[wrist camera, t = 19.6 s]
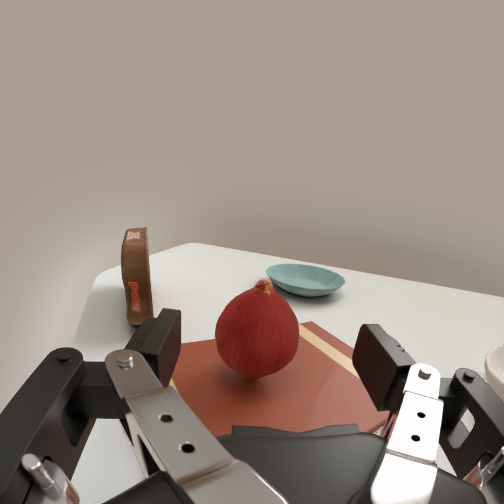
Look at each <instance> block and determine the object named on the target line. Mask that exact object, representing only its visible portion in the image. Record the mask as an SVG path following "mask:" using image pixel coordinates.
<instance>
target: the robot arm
mask: <svg viewBox="0 0 504 504" xmlns="http://www.w3.org/2000/svg"><path fill="white" fill-rule="evenodd" d="M180 348H181V311H180V310H174V309H167V308H163V309H162V311H161V312H160V314H159V316H158V317H157V318H152V317H150V318H148V319H147V320H145V321H143V322H142V323H141V324H140V326H139V327H138V330H136V332H135V333H134V335H133V336H132V338H131V339H130V341H129V342H128V344H127V345H126V347H125V348H124V349H121V350H116V351H113V352H111V353H110V354H108V355H107V356H106V358H105V361H104V362H87V361H84V360H83V356H82V354H81V352H80V351H78V350H76V349H74V348H59V349H56V350H53V351H52V352H51V353H49V354H48V355H47V357H46V358H45V359H44V360H43V361H42V362H41V364H40V365H39V366H38V367H37V368H36V370H35V371H34V372H33V373H32V374H31V376H30V377H29V378H28V379H27V380H26V382H25V383H24V384H23V385H22V387H21V388H20V389H19V390H18V392H17V393H16V394H15V395H14V397H13V398H12V399H11V401H10V402H9V403H8V405H7V406H6V408H5V409H4V410H3V411H2V413H1V414H0V504H79V502H80V500H79V495H78V492H77V491H76V489H75V488H74V486H73V485H72V483H71V482H70V481H71V479H72V476H73V473H74V471H75V468H76V466H77V463H78V461H79V459H80V456H81V454H82V451H83V449H84V447H85V444H86V442H87V439H88V437H89V435H90V433H91V430H92V428H93V426H94V424H95V421H96V419H97V418H102V419H118V422H119V424H120V426H121V428H122V430H123V432H124V434H125V436H126V438H127V440H128V442H129V444H130V446H131V448H132V450H133V451H134V453H135V455H136V457H137V460H138V462H139V464H140V467H141V469H142V471H143V473H144V475H145V476H146V479H145V480H143V481H141V482H140V483H138V484H136V485H135V486H133V487H131V488H130V489H128V490H126V491H124V492H123V493H121V494H119V495H117V496H115V497H114V498H112V499H110V500H108V501H106V502H104V503H102V504H504V402H503V401H502V400H501V398H500V397H499V396H498V395H497V394H496V393H495V392H494V391H493V390H492V388H491V387H490V386H489V385H488V384H487V383H486V382H485V381H484V380H483V379H482V378H481V377H480V376H479V375H478V374H477V373H476V372H474V371H473V370H470V369H467V368H459V369H457V370H456V372H455V374H454V376H453V378H452V379H451V378H440V374H439V372H438V371H437V370H436V369H435V368H433V367H431V366H429V365H426V364H416V362H415V361H414V360H413V359H412V358H411V357H410V355H409V354H408V353H407V352H405V350H404V349H403V347H401V345H400V344H399V343H398V342H397V341H396V339H394V338H392V337H391V336H389V335H388V334H387V333H386V332H385V331H384V330H383V329H382V328H381V326H380V325H378V324H363V325H362V326H361V328H360V330H359V334H358V337H357V341H356V344H355V348H354V351H353V355H352V364H353V367H354V369H355V370H356V372H357V374H358V376H359V378H360V380H361V381H362V383H363V385H364V387H365V389H366V391H367V392H368V394H369V396H370V398H371V400H372V402H373V404H374V406H375V407H376V409H377V411H378V412H382V411H390V413H389V415H388V417H387V419H386V421H385V424H384V426H383V429H382V431H381V434H380V436H378V435H375V434H371V433H367V432H360V430H359V428H358V425H357V423H355V424H344V425H330V426H325V427H321V428H318V429H313V430H309V431H305V432H299V433H298V432H291V431H285V430H280V429H275V428H270V427H265V426H244V425H232V431H231V434H224V435H219V436H215V437H214V436H213V435H212V434H211V432H210V431H209V430H208V429H207V428H206V427H205V426H204V424H203V423H202V422H201V421H200V420H199V418H198V417H197V416H196V415H195V414H194V412H193V411H192V410H191V409H190V408H189V406H188V405H187V404H186V403H185V401H184V400H183V399H182V397H181V396H180V395H179V394H178V392H177V391H176V390H175V388H174V387H172V386H169V383H170V380H171V377H172V375H173V372H174V369H175V366H176V363H177V360H178V357H179V354H180ZM467 408H468V410H469V411H470V412H471V414H472V415H473V416H474V419H475V424H474V427H473V429H472V430H471V432H470V433H469V431H468V430H467V428H466V427H465V425H464V424H463V422H462V421H461V420H460V419H461V418H462V416H463V414H464V413H465V411H466V410H467ZM438 442H439V444H440V445H441V447H442V449H443V451H444V453H445V454H446V456H447V458H448V460H449V462H450V464H451V466H452V467H453V469H454V471H455V473H456V475H457V477H456V476H454V475H452V474H450V473H448V472H446V471H444V470H442V469H440V468H438V467H437V464H435V457H436V452H437V447H438Z"/></svg>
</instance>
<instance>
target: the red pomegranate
mask: <svg viewBox="0 0 504 504" xmlns="http://www.w3.org/2000/svg"><path fill="white" fill-rule="evenodd" d="M215 338H216V344H217V350H218V354H219V355H220V357H221V359H222V360H223V361H224V362H225V364H226V365H227V366H228V367H229V368H231V369H232V370H234V371H235V372H237V373H239V374H241V375H243V376H244V377H245V378H247V379H249V380H257V379H259V378H262V377H265V376H268V375H271V374H274V373H276V372H278V371H280V370H281V369H283V368H284V367H285V366H286V365H287V364H289V363H290V362H291V361H292V360H293V358H294V356H295V354H296V352H297V349H298V342H299V324H298V321H297V318H296V316H295V314H294V312H293V311H292V309H291V307H290V306H289V304H288V303H287V302H286V300H285V299H283V298H282V297H281V296H280V295H279V294H277V293H276V292H275V291H274V288H273V286H272V281H271V280H268V279H261V280H260V281H258V282H257V284H256V286H255V287H254V288H252V289H250V290H248V291H245V292H243V293H242V294H240V295H238V296H236V297H235V298H234V299H233V300H231V301H230V302H229V304H228V305H227V306H226V307H225V309H224V310H223V312H222V314H221V315H220V317H219V319H218V321H217V324H216V330H215Z"/></svg>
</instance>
